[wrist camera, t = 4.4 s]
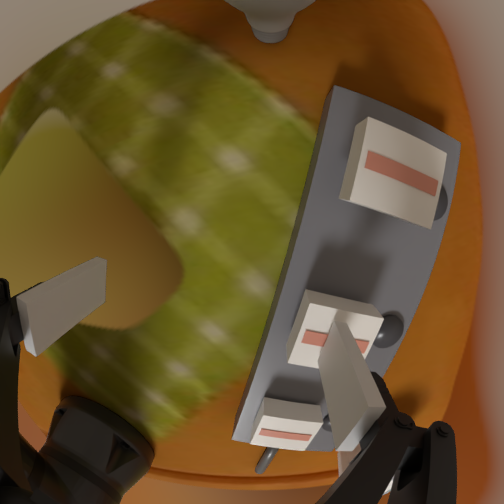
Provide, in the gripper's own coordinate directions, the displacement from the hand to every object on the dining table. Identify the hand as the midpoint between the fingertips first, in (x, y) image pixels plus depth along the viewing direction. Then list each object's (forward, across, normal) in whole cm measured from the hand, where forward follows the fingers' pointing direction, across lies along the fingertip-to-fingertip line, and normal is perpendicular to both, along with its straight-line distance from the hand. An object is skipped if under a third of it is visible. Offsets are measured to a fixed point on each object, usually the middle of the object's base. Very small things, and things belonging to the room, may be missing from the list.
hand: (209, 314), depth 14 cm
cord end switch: (+3, +7, -10) cm, 12 cm away
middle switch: (+3, +7, 0) cm, 8 cm away
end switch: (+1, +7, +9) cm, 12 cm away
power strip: (+6, +9, -5) cm, 12 cm away
